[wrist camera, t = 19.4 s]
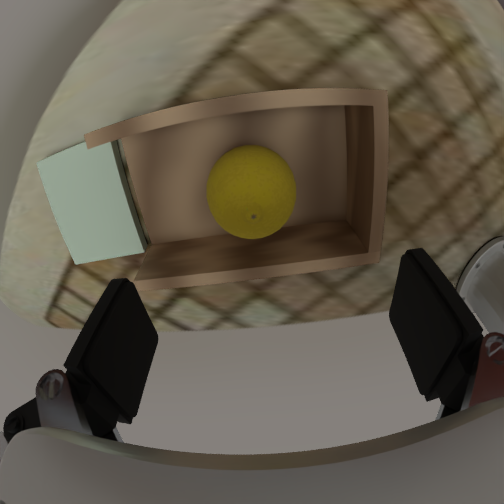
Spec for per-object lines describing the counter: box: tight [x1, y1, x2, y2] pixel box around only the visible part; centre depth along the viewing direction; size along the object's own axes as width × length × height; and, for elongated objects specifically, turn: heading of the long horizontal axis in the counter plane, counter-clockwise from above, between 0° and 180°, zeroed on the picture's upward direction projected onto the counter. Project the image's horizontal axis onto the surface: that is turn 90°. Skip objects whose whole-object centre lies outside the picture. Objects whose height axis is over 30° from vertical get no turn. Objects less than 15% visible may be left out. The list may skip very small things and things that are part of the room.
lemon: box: [206, 145, 296, 239], centre depth 17 cm, size 6×6×8 cm
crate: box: [84, 88, 389, 291], centre depth 19 cm, size 18×12×6 cm, turn 97°
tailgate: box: [37, 140, 148, 264], centre depth 21 cm, size 2×11×8 cm
